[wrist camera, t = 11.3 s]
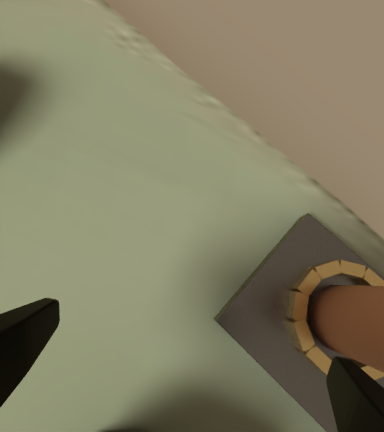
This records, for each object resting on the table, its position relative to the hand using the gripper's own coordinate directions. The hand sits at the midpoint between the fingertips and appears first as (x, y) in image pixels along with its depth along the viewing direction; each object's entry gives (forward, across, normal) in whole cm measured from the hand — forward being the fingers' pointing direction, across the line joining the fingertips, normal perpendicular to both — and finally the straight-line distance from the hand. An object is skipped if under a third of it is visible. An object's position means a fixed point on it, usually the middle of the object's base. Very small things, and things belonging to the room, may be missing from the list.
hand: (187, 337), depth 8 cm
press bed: (+12, -11, +8) cm, 18 cm away
